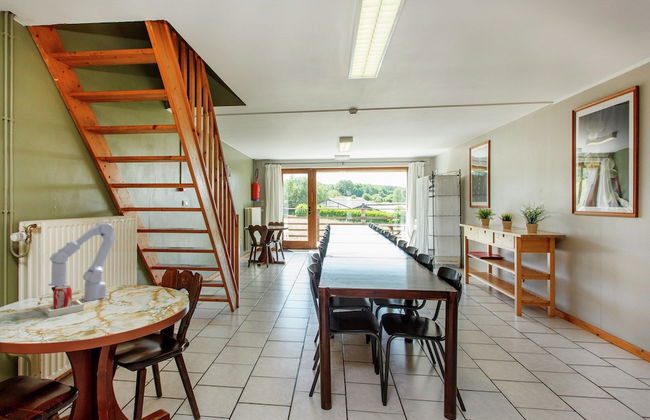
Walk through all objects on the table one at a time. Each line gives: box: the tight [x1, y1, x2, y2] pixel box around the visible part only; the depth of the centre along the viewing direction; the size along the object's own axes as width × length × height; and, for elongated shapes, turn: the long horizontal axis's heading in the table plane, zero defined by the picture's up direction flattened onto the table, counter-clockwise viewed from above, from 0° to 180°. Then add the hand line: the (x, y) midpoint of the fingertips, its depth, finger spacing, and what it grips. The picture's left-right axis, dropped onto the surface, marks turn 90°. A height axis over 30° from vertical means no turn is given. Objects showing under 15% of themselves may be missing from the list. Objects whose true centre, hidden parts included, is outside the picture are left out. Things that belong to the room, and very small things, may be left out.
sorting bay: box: [44, 299, 85, 318], centre depth 149 cm, size 13×12×3 cm
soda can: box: [52, 285, 73, 310], centre depth 150 cm, size 7×7×12 cm
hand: (58, 300), depth 158 cm, fingers closed
